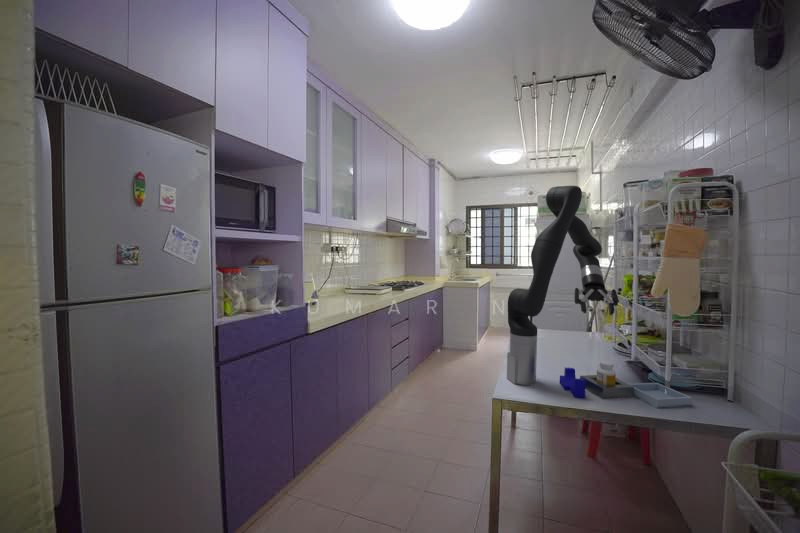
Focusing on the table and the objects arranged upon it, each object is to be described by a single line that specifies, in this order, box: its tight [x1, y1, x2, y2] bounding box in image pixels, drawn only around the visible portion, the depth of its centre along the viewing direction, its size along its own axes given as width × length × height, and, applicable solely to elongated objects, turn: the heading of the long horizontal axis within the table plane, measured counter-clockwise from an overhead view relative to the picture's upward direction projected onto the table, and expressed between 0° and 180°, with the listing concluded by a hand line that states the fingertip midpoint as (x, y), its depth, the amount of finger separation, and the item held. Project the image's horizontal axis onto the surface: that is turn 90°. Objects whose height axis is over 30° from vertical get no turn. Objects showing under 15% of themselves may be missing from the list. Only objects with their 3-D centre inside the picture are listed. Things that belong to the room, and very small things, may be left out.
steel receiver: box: [579, 374, 635, 400], centre depth 113 cm, size 11×11×4 cm
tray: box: [628, 382, 693, 409], centre depth 108 cm, size 12×12×3 cm
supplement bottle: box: [596, 360, 617, 385], centre depth 113 cm, size 5×5×10 cm
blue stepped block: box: [559, 367, 586, 400], centre depth 114 cm, size 12×4×6 cm, turn 169°
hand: (598, 312), depth 123 cm, fingers open, 8 cm apart
